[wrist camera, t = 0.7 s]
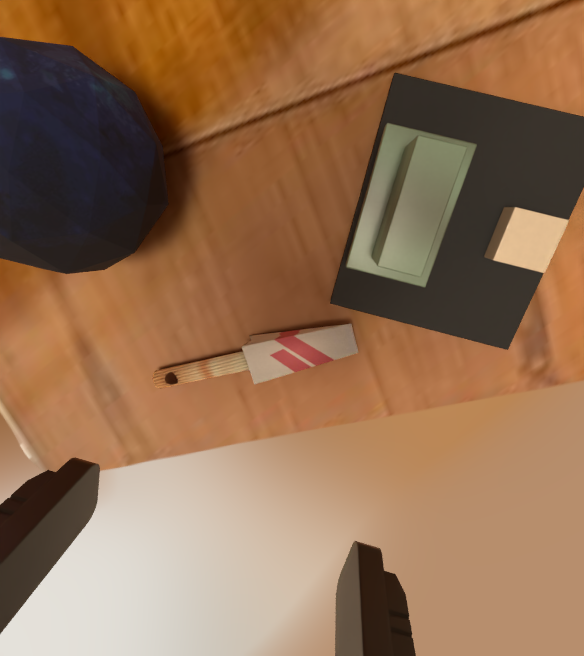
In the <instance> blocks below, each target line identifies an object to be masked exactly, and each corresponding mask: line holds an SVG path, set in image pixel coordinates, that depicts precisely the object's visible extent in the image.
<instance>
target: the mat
mask: <svg viewBox="0 0 584 656" xmlns="http://www.w3.org/2000/svg"><path fill="white" fill-rule="evenodd" d="M387 123H391V124H395V125H399V126H403V127H407V128H412V129H416V130H420V131H424V132H428V133H433V134H437V135H441V136H445V137H449V138H453V139H458V140H462V141H466V142H470V143H474V144H477V146H476V149H475V152H474V155H473V157H472V160H471V163H470V166H469V168H468V171H467V174H466V177H465V179H464V182H463V185H462V188H461V190H460V193H459V196H458V199H457V201H456V204H455V207H454V210H453V212H452V215H451V218H450V221H449V223H448V226H447V229H446V232H445V234H444V237H443V240H442V243H441V245H440V248H439V251H438V254H437V256H436V259H435V262H434V265H433V267H432V270H431V273H430V276H429V278H428V281H427V284H426V287H421V286H417V285H413V284H409V283H405V282H401V281H397V280H393V279H389V278H386V277H382V276H378V275H374V274H370V273H366V272H362V271H358V270H354V269H350V268H347V267H346V262H347V258H348V255H349V251H350V248H351V244H352V241H353V237H354V233H355V230H356V226H357V223H358V219H359V216H360V212H361V209H362V205H363V202H364V198H365V195H366V191H367V188H368V184H369V181H370V177H371V174H372V170H373V167H374V163H375V160H376V156H377V153H378V149H379V146H380V142H381V139H382V135H383V132H384V128H385V126H386V124H387ZM583 188H584V117H582V116H578V115H574V114H570V113H565V112H561V111H557V110H552V109H548V108H544V107H540V106H535V105H531V104H527V103H522V102H518V101H514V100H510V99H505V98H501V97H497V96H492V95H488V94H484V93H480V92H475V91H471V90H467V89H462V88H458V87H454V86H450V85H445V84H441V83H437V82H432V81H428V80H424V79H420V78H415V77H411V76H407V75H402V74H398V73H394V76H393V79H392V83H391V87H390V90H389V94H388V97H387V101H386V104H385V108H384V112H383V115H382V119H381V122H380V126H379V129H378V133H377V137H376V140H375V144H374V147H373V151H372V154H371V158H370V162H369V165H368V169H367V172H366V176H365V179H364V183H363V187H362V190H361V194H360V197H359V201H358V204H357V208H356V212H355V215H354V219H353V222H352V226H351V229H350V233H349V237H348V240H347V244H346V247H345V251H344V254H343V258H342V262H341V265H340V269H339V272H338V276H337V279H336V283H335V287H334V290H333V294H332V297H331V301H330V303H331V304H334V305H338V306H342V307H346V308H350V309H354V310H357V311H361V312H365V313H369V314H373V315H376V316H380V317H384V318H388V319H392V320H396V321H399V322H403V323H407V324H411V325H415V326H419V327H422V328H426V329H430V330H434V331H438V332H442V333H445V334H449V335H453V336H457V337H461V338H465V339H468V340H472V341H476V342H480V343H484V344H487V345H491V346H495V347H499V348H503V349H507V350H508V348H509V346H510V344H511V342H512V340H513V338H514V335H515V333H516V331H517V329H518V327H519V325H520V323H521V320H522V318H523V316H524V314H525V312H526V310H527V308H528V305H529V303H530V301H531V299H532V297H533V295H534V293H535V290H536V288H537V286H538V284H539V282H540V280H541V278H542V275H543V273H541V272H537V271H533V270H529V269H525V268H521V267H518V266H514V265H510V264H506V263H502V262H498V261H494V260H491V259H488V258H485V257H484V255H485V253H486V250H487V248H488V245H489V243H490V241H491V238H492V236H493V233H494V231H495V228H496V226H497V223H498V221H499V218H500V216H501V214H502V211H503V209H504V207H518V208H522V209H526V210H530V211H534V212H538V213H542V214H546V215H550V216H554V217H558V218H562V219H567V220H569V218H570V215H571V213H572V211H573V209H574V207H575V205H576V203H577V200H578V198H579V196H580V194H581V192H582V190H583Z"/></svg>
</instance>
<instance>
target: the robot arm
mask: <svg viewBox="0 0 584 656" xmlns="http://www.w3.org/2000/svg"><path fill="white" fill-rule="evenodd" d="M99 472H100V467H99V465H98V464H95V463H92V462H89V461H85V460H82V459H78V458H72V459H70V460H69V461H68V462H66V463H65V464H64V465H63V466H62V467H61V468H60V469H59V470H58V471H57V472H53V471H50V470H47V471H45V472H43V473H41V474H39V475H38V476H35V477H34V478H32V479H30V480H28V481H27V482H25V484H23V485H22V486H21V487H20V488H19V489H18V490H16V491H15V492H14V493H13V494H12V495H11V497H10V498H7V499H6V500H5V501H4V502H3V503H2V504H1V505H0V633H1V632H2V631H3V629H4V628H5V627H6V626H7V625H8V623H9V622H10V621H11V619H12V618H13V617H14V616H15V615H16V613H17V612H18V611H19V609H20V608H21V607H22V606H23V604H24V603H25V602H26V600H27V599H28V598H29V596H30V595H31V594H32V592H34V590H35V589H36V588H37V587H38V585H39V584H40V583H41V581H42V580H43V579H44V578H45V576H46V575H47V574H48V573H49V571H50V570H51V569H52V568H53V566H54V565H55V564H56V562H57V561H58V560H59V559H60V557H61V556H62V555H63V554H64V552H65V551H66V550H67V548H68V547H69V546H70V545H71V543H72V542H73V541H74V540H75V538H76V537H77V536H78V534H79V533H80V532H81V531H82V529H83V528H84V527H85V526H86V524H87V523H88V522H89V520H90V518H91V517H92V515H93V513H94V510H95V508H96V504H97V498H98V497H97V496H98V485H99ZM335 656H416V655H415V649H414V643H413V638H412V631H411V625H410V620H409V613H408V607H407V600H406V595H405V592H404V591H403V589H402V586H401V585H400V582H399V581H398V578H397V576H396V575H395V574H393V573H389V572H386V571H384V568H383V560H382V553H381V550H380V548H377V547H374V546H370V545H367V544H364V543H360V542H357V541H355V542H354V543H353V545H352V547H351V550H350V552H349V554H348V557H347V559H346V562H345V564H344V566H343V569H342V571H341V574H340V577H339V580H338V585H337V593H336V634H335Z"/></svg>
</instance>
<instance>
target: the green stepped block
mask: <svg viewBox="0 0 584 656" xmlns="http://www.w3.org/2000/svg"><path fill="white" fill-rule="evenodd" d="M476 146H477V144H474V143H470V142H466V141H462V140H458V139H453V138H449V137H445V136H441V135H437V134H433V133H428V132H424V131H420V130H416V129H412V128H407V127H403V126H399V125H395V124H391V123H387V124H386V126H385V128H384V132H383V135H382V139H381V142H380V146H379V149H378V153H377V156H376V160H375V163H374V167H373V170H372V174H371V177H370V181H369V184H368V188H367V191H366V195H365V198H364V202H363V205H362V209H361V212H360V216H359V219H358V223H357V226H356V230H355V233H354V237H353V241H352V244H351V248H350V251H349V255H348V258H347V262H346V267H347V268H350V269H354V270H358V271H362V272H366V273H370V274H374V275H378V276H382V277H386V278H389V279H393V280H397V281H401V282H405V283H409V284H413V285H417V286H421V287H426V284H427V281H428V278H429V276H430V273H431V270H432V267H433V265H434V262H435V259H436V256H437V254H438V251H439V248H440V245H441V243H442V240H443V237H444V234H445V232H446V229H447V226H448V223H449V221H450V218H451V215H452V212H453V210H454V207H455V204H456V201H457V199H458V196H459V193H460V190H461V188H462V185H463V182H464V179H465V177H466V174H467V171H468V168H469V166H470V163H471V160H472V157H473V155H474V152H475V149H476Z"/></svg>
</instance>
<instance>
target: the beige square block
mask: <svg viewBox="0 0 584 656" xmlns="http://www.w3.org/2000/svg"><path fill="white" fill-rule="evenodd" d="M568 222H569V220H567V219H562V218H558V217H554V216H550V215H546V214H542V213H538V212H534V211H530V210H526V209H522V208H518V207H504V209H503V211H502V214H501V216H500V218H499V221H498V223H497V226H496V228H495V231H494V233H493V236H492V238H491V241H490V243H489V245H488V248H487V250H486V253H485V255H484V257H485V258H488V259H491V260H494V261H498V262H502V263H506V264H510V265H514V266H518V267H521V268H525V269H529V270H533V271H537V272H541V273H545V271H546V269H547V267H548V265H549V263H550V260H551V258H552V256H553V254H554V252H555V250H556V248H557V245H558V243H559V241H560V239H561V237H562V235H563V233H564V231H565V228H566V226H567V224H568Z"/></svg>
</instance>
